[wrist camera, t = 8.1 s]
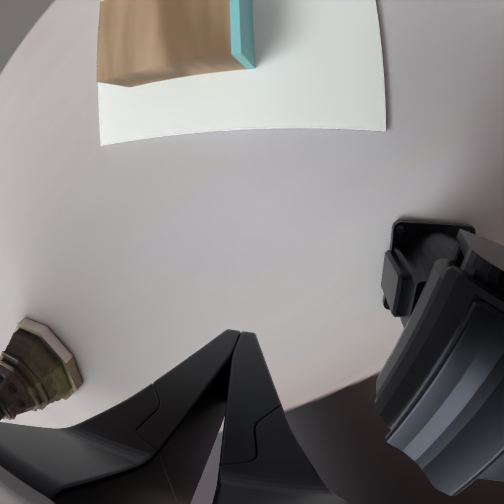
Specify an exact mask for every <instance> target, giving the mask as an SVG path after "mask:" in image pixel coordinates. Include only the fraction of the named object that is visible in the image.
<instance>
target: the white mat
mask: <svg viewBox="0 0 504 504" xmlns="http://www.w3.org/2000/svg"><path fill="white" fill-rule="evenodd" d="M102 1H103V0H102ZM252 9H253V30H254V52H255V69H245V70H234V71H224V72H215V73H207V74H200V75H193V76H186V77H180V78H174V79H169V80H163V81H158V82H153V83H148V84H144V85H139V86H135V87H124V86H118V85H112V84H106V83H99V82H98V104H99V127H100V143H101V146H104V145H110V144H115V143H121V142H128V141H134V140H141V139H148V138H156V137H164V136H173V135H182V134H192V133H203V132H216V131H230V130H249V129H284V128H315V129H349V130H368V131H382V132H386V108H385V86H384V70H383V58H382V47H381V38H380V29H379V22H378V14H377V7H376V1H375V0H252Z"/></svg>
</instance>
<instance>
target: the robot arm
mask: <svg viewBox="0 0 504 504" xmlns="http://www.w3.org/2000/svg"><path fill="white" fill-rule="evenodd" d="M399 226H402V227H403V228H402V230H401V231H397V228H398V227H399ZM469 230H470V232H468V231H469ZM381 287H382V289H383V292H384V297H383V305H384V307H385V308H386V309H389V310H390V311H391V313H392V314H393V316H394V317H400V319H401V321H402V324H403V326H404V330H403V332H402V334H401V336H400V338H399V340H398V342H397V344H396V345H395V347H394V349H393V351H392V353H391V355H390V356H389V358H388V360H387V362H386V363H385V365H384V367H383V369H382V370H381V372H380V374H379V377H378V379H377V381H376V395H377V398H376V400H375V406H376V408H377V410H378V413H379V415H380V416H381V418H382V419H383V420H384V422H385V423H386V424H387V426H388V427H389V428H390V429H391V431H390V432H389V434H388V435H387V436H386V437H385V440H386V442H388V443H390V444H391V445H393V446H395V447H397V448H399V449H400V450H402V451H404V452H405V453H406V454H407V455H408V456H409V457H411V458H412V459H413V460H414V461H415V462H416V463H417V464H418V465H419V467H420V468H421V469H422V470H423V472H424V473H425V474H426V476H427V477H428V479H429V480H430V481H431V483H432V484H433V486H434V487H435V488H436V489H438V490H440V491H442V492H444V493H446V494H448V495H450V496H455V495H457V494H458V493H459V492H461V491H462V490H463V489H464V488H466V487H467V486H468V485H469V484H471V483H472V482H473V481H474V480H475V479H477V478H481V479H489V480H498V481H504V246H502V245H499V244H497V243H494V242H492V241H490V240H487V239H485V238H482V237H480V236H477V235H475V229H474V228H473V227H472V226H471V225H465V224H451V223H435V222H418V221H396V222H395V223H394V224H393V226H392V234H391V244H390V250H388V251H387V252H386V253H385V258H384V266H383V274H382V282H381ZM387 302H388V304H387ZM224 417H225V419H224ZM223 419H224V428H223V437H222V446H221V455H220V464H219V473H218V481H217V487H216V491H215V496H214V499H213V503H212V504H349V503H348V502H346V501H344V500H342V499H341V498H339V497H338V496H336V495H335V494H333V493H332V492H331V491H330V490H329V489H328V488H327V486H326V485H325V484H324V483H323V481H322V480H321V478H320V477H319V475H318V474H317V472H316V470H315V469H314V467H313V465H312V464H311V462H310V461H309V459H308V457H307V456H306V454H305V453H304V451H303V449H302V447H301V446H300V444H299V442H298V440H297V439H296V437H295V435H294V433H293V431H292V429H291V427H290V424H289V422H288V420H287V418H286V415H285V412H284V410H283V407H282V405H281V402H280V399H279V397H278V394H277V391H276V389H275V386H274V383H273V381H272V378H271V375H270V372H269V370H268V367H267V364H266V362H265V359H264V356H263V353H262V351H261V348H260V345H259V342H258V340H257V337H256V334H255V333H251V332H240V331H237V330H230V329H228V330H226V331H224V332H223V333H221V334H220V335H219V336H217V337H216V338H215V339H213V340H212V341H211V342H209V343H208V344H207V345H205V346H204V347H202V348H201V349H200V350H198V351H197V352H196V353H194V354H193V355H191V356H190V357H189V358H187V359H186V360H184V361H183V362H182V363H180V364H179V365H177V366H176V367H175V368H173V369H172V370H170V371H169V372H167V373H166V374H165V375H163V376H162V377H160V378H159V379H157V380H156V381H155V382H154V384H153V383H152V384H150V385H149V386H147V387H146V388H144V389H143V390H141V391H140V392H138V393H137V394H135V395H133V396H132V397H130V398H129V399H127V400H125V401H123V402H121V403H119V404H118V405H116V406H114V407H112V408H110V409H108V410H106V411H104V412H102V413H100V414H98V415H96V416H94V417H92V418H90V419H88V420H86V421H84V422H81V423H79V424H77V425H74V426H71V427H67V428H60V429H53V428H42V427H33V426H25V425H17V424H11V423H4V422H0V504H190V503H191V501H192V499H193V496H194V494H195V491H196V489H197V486H198V483H199V481H200V479H201V476H202V474H203V471H204V469H205V466H206V464H207V461H208V458H209V456H210V453H211V451H212V448H213V446H214V443H215V440H216V438H217V435H218V432H219V430H220V427H221V425H222V422H223Z"/></svg>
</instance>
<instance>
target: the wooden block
mask: <svg viewBox="0 0 504 504" xmlns="http://www.w3.org/2000/svg"><path fill="white" fill-rule="evenodd" d="M245 69H255V52H254V30H253V9H252V0H103V1H101V2H100V13H99V26H98V44H97V82H99V83H106V84H112V85H118V86H124V87H135V86H139V85H144V84H148V83H153V82H158V81H163V80H169V79H174V78H180V77H186V76H193V75H200V74H207V73H215V72H224V71H234V70H245Z"/></svg>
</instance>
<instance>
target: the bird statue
mask: <svg viewBox="0 0 504 504" xmlns="http://www.w3.org/2000/svg"><path fill="white" fill-rule="evenodd" d="M82 383H83V382H82V379H81V377H80V374H79V371H78V368H77V366H76V363H75V360H74V357H73V355H72V354H71V353H70V352H69V351H68V350H67V349H66V348H65V347H64V346H63V344H62V343H61V342H60V341H59V340H58V339H57V338H56V336H55V335H54V334H53V333H52V332H51V331H50V330H49V328H48V327H47V326H45V325H43V324H40V323H37V322H34V321H32V320H29V319H27V318H25V319H23V320H22V321H21V322H19V323H18V324H17V327H16V329H15V331H14V333H13V335H12V338H11V340H10V342H9V345H7V348H6V350H5V351H2V353H1V356H0V420H1V419H5V418H6V419H9V420H11V419H15V417H16V415H18V414H21V413H24V412H27V411H30V410H33V411H37V409H41V410H43V409H44V408H45V407H46V406H47V405H48V404H49V403H54V401H58V400H60V399H61V398H63V399H65V400H66V399H68V398H69V397H70V396H71V395H72V394H73V393H74V392H75V391H76V390H77V389H78V388H79V387H80V386H81V385H82ZM4 417H5V418H4Z"/></svg>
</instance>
